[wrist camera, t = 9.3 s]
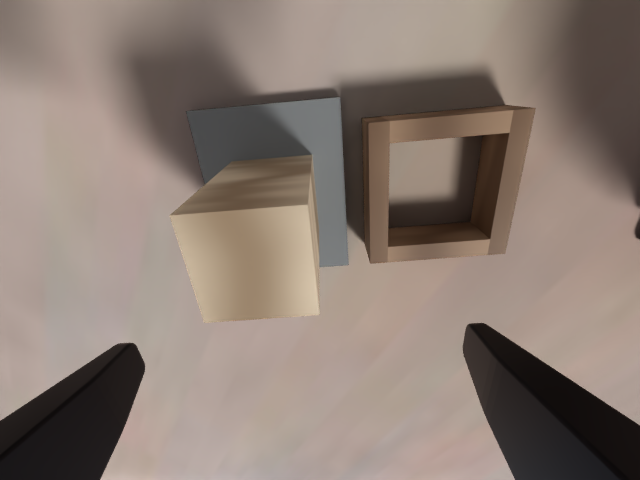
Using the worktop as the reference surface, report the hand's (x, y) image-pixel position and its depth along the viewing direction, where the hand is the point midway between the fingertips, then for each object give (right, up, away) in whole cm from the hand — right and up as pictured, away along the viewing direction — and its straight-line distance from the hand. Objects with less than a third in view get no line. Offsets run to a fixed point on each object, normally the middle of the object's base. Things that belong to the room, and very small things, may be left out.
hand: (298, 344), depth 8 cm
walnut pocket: (+7, +6, +10) cm, 14 cm away
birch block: (-2, +5, +10) cm, 11 cm away
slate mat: (-2, +6, +10) cm, 12 cm away
